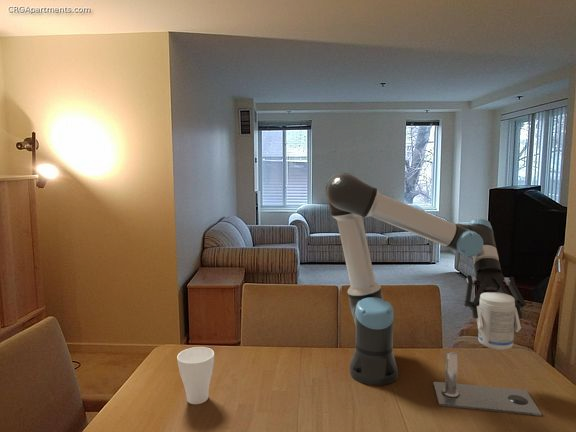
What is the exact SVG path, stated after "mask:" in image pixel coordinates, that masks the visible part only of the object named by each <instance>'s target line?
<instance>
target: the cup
mask: <svg viewBox="0 0 576 432" xmlns="http://www.w3.org/2000/svg"><path fill="white" fill-rule="evenodd" d="M176 360H177V361H176V362H177V365H178V366H177V367H178V371H179V375H180V379H181V380H182V384H183V387H184V390H185V395H186V401H187V403H189V404H191V405H201V404H203V403H205V402H206V401H208V399H209V392H210V391H209V390H210V385H211V384H210V383H211V379H212V375H213V370H214V364H215V352H214V350H213V349H212V348H209V347H207V346H206V347H205V346H194V347H193V346H192V347H189V348H186V349H183V350H181V351H180V352H179V353H178V354H177V357H176Z"/></svg>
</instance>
